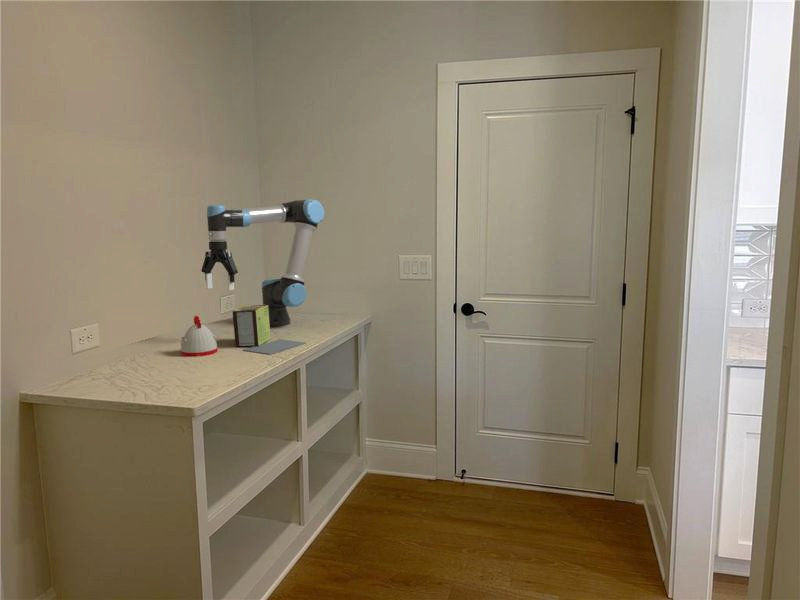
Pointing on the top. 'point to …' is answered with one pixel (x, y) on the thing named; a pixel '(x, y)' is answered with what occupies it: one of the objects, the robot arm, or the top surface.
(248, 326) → the protein box
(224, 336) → the top surface
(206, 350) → the kitchen timer
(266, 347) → the slate rubber mat
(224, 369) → the top surface
